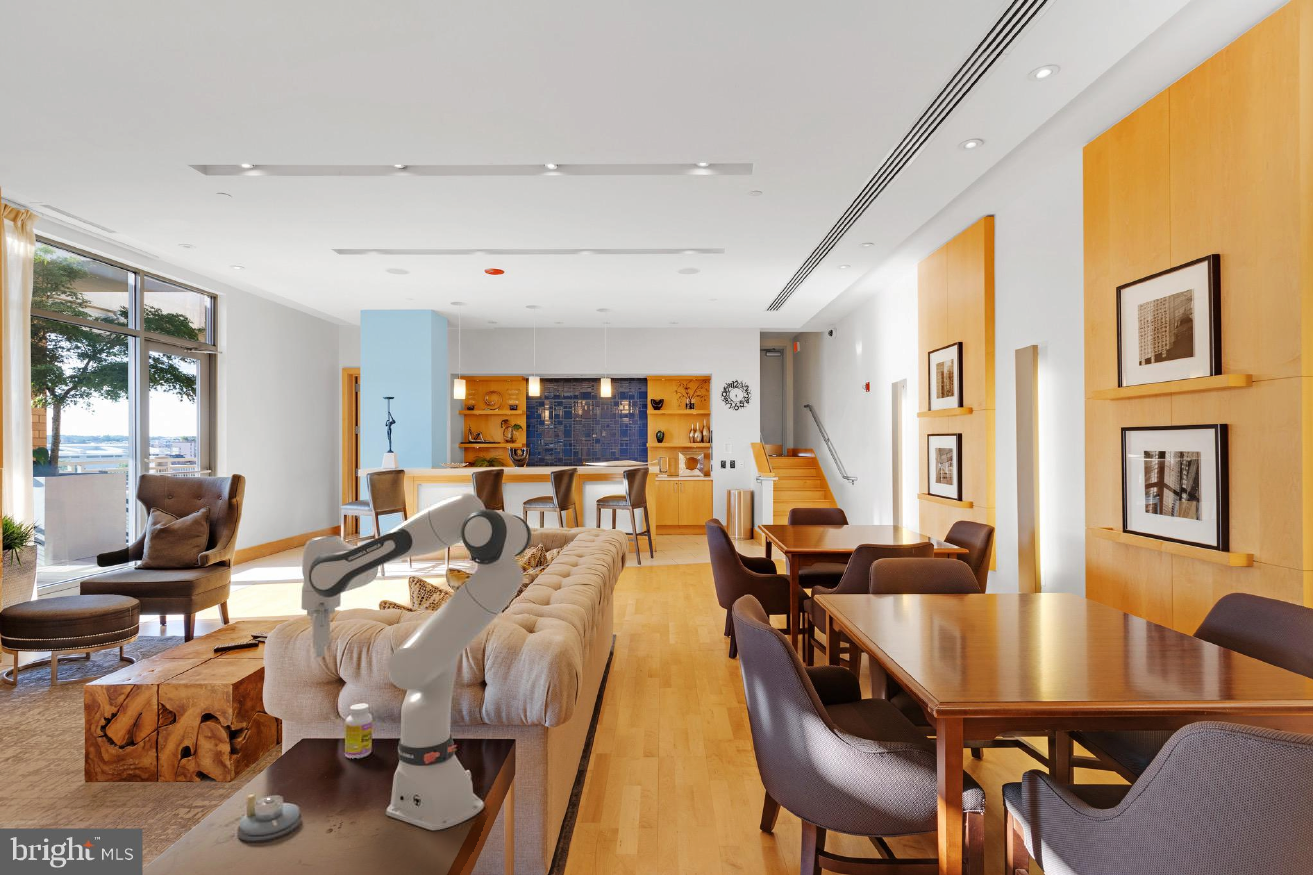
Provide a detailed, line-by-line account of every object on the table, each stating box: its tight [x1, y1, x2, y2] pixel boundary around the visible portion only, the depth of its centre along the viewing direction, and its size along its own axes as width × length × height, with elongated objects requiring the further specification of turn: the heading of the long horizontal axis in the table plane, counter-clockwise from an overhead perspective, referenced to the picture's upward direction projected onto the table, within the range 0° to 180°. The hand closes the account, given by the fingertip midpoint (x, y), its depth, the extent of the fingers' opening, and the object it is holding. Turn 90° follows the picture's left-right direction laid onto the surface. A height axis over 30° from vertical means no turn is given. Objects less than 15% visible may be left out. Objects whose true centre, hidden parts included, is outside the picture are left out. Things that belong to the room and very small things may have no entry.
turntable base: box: [237, 812, 302, 844], centre depth 148 cm, size 12×12×1 cm
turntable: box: [239, 793, 300, 835], centre depth 148 cm, size 11×11×5 cm
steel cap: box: [255, 794, 284, 823], centre depth 148 cm, size 5×5×4 cm
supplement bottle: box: [344, 702, 373, 760], centre depth 186 cm, size 7×7×13 cm
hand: (320, 655), depth 172 cm, fingers closed
